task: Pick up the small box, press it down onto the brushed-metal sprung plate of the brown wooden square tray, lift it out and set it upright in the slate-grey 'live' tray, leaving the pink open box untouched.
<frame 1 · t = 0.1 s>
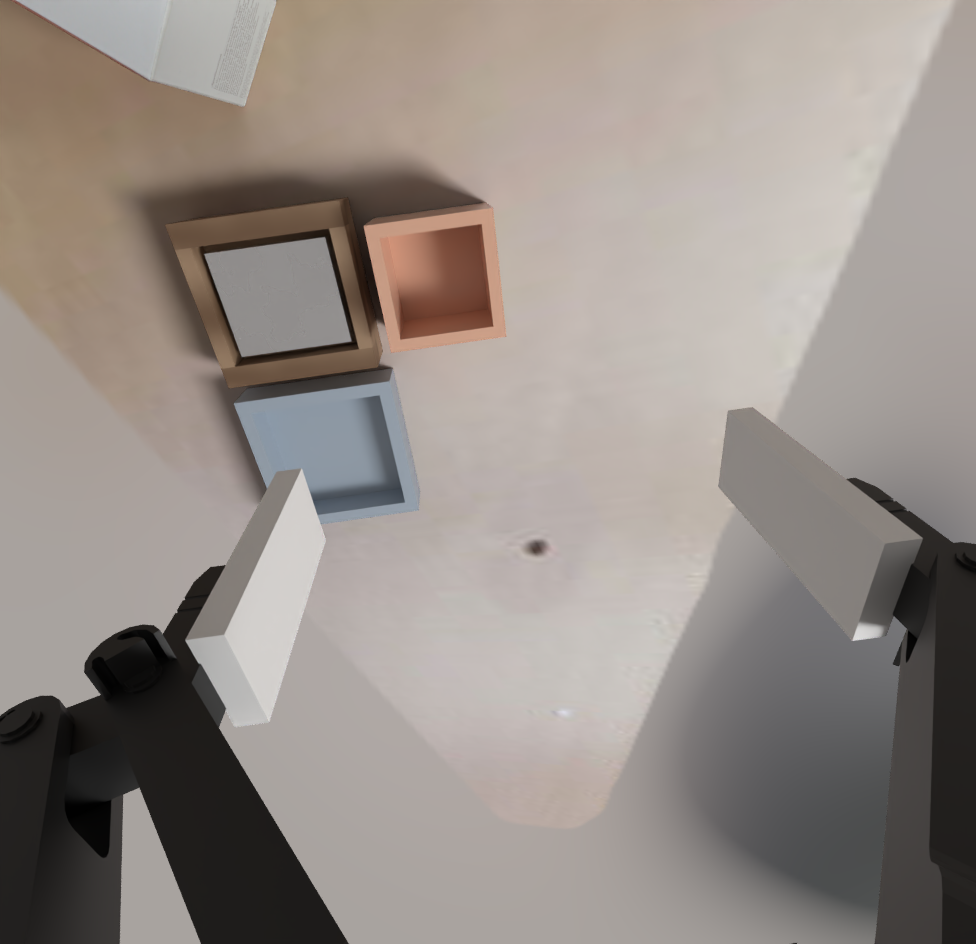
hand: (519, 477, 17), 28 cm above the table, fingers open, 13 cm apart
brown wooden square tray: (293, 289, 40), on the table
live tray: (339, 443, 46), on the table
small box: (196, 16, 32), on the table
pink open box: (439, 269, 40), on the table
sprung plate: (283, 298, 37), point 3 cm above the table, slide at 1.2 cm
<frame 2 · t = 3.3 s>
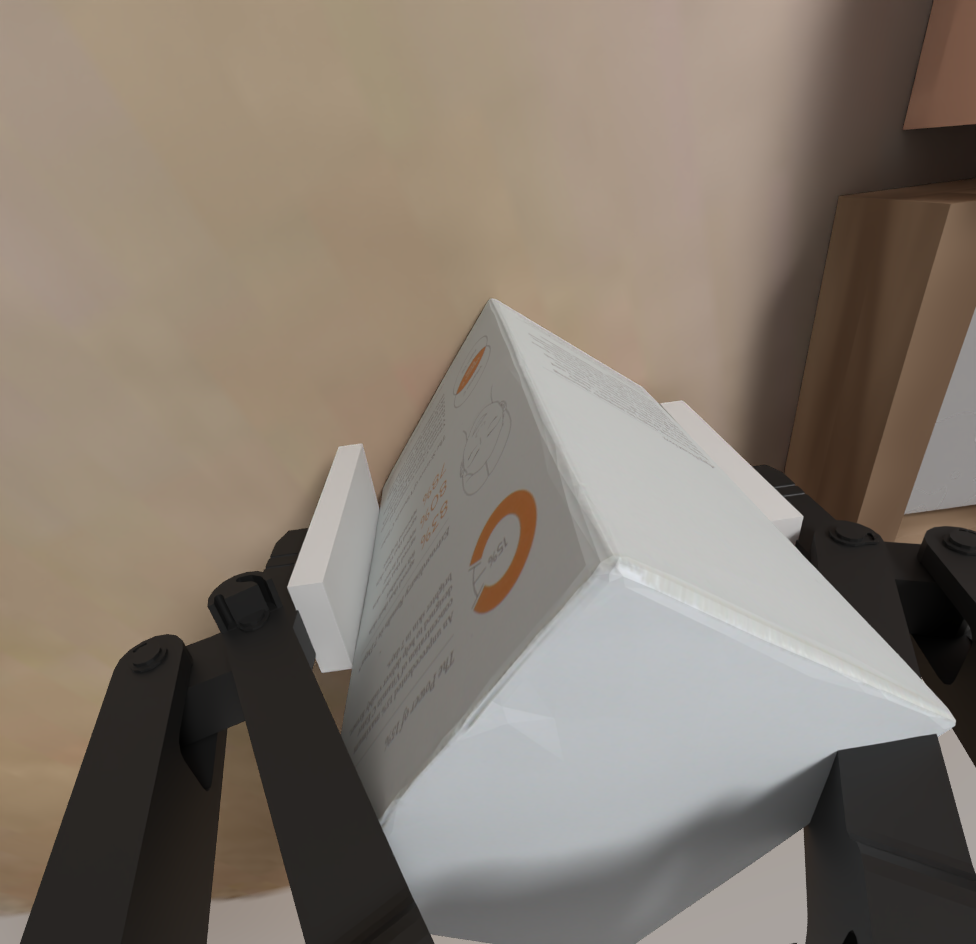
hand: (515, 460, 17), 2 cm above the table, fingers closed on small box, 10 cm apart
brown wooden square tray: (958, 351, 19), on the table
small box: (509, 435, 19), on the table, touching gripper
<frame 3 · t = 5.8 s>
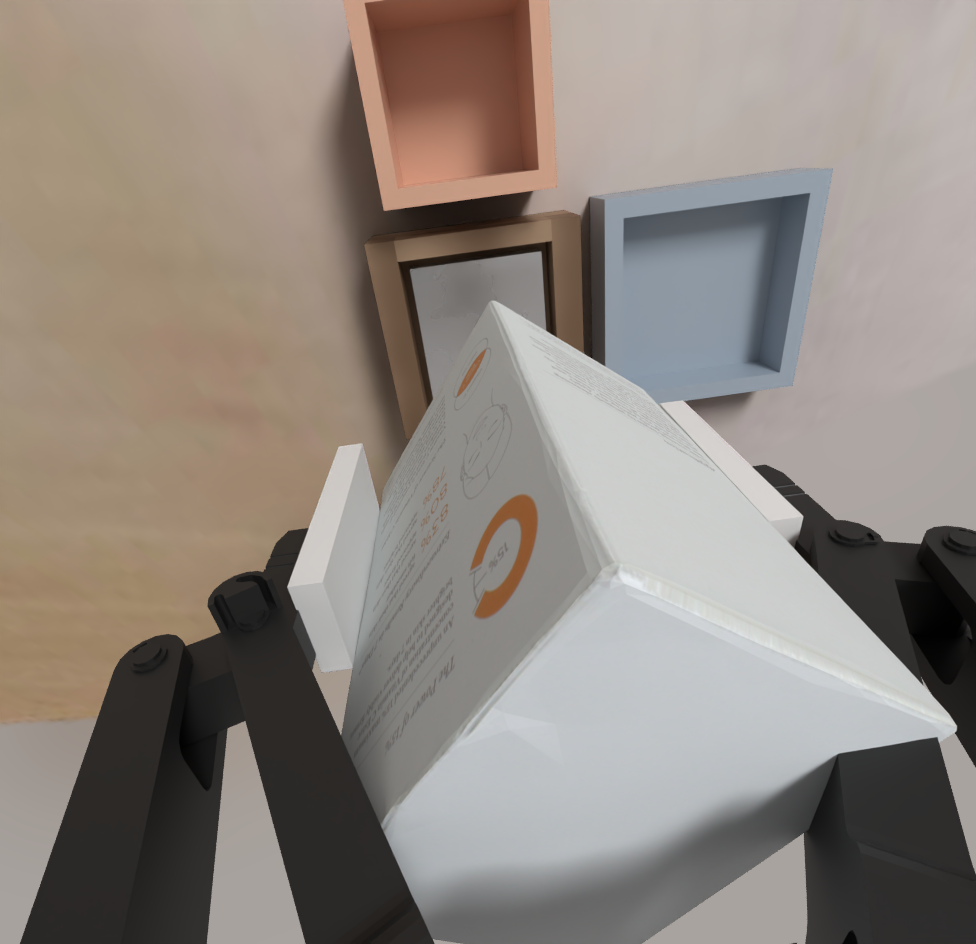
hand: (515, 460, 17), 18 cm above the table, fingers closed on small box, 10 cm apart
brown wooden square tray: (480, 319, 33), on the table
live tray: (686, 291, 33), on the table
small box: (509, 437, 19), point 16 cm above the table, touching gripper
pink open box: (454, 106, 27), on the table
sprung plate: (483, 332, 30), point 3 cm above the table, slide at 1.2 cm
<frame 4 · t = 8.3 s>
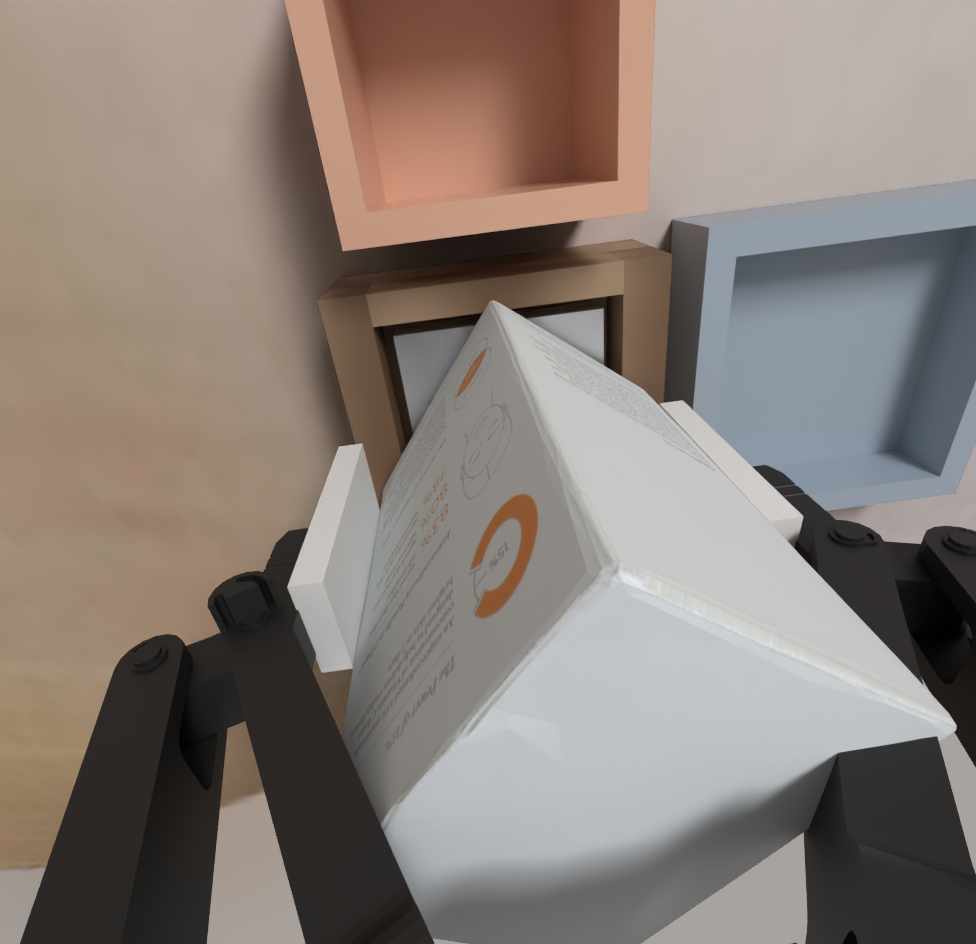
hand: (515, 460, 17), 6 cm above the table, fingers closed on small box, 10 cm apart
brown wooden square tray: (500, 395, 22), on the table
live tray: (802, 355, 23), on the table
small box: (509, 437, 19), point 4 cm above the table, touching gripper
pink open box: (466, 76, 17), on the table
sprung plate: (507, 424, 20), point 3 cm above the table, slide at 1.2 cm
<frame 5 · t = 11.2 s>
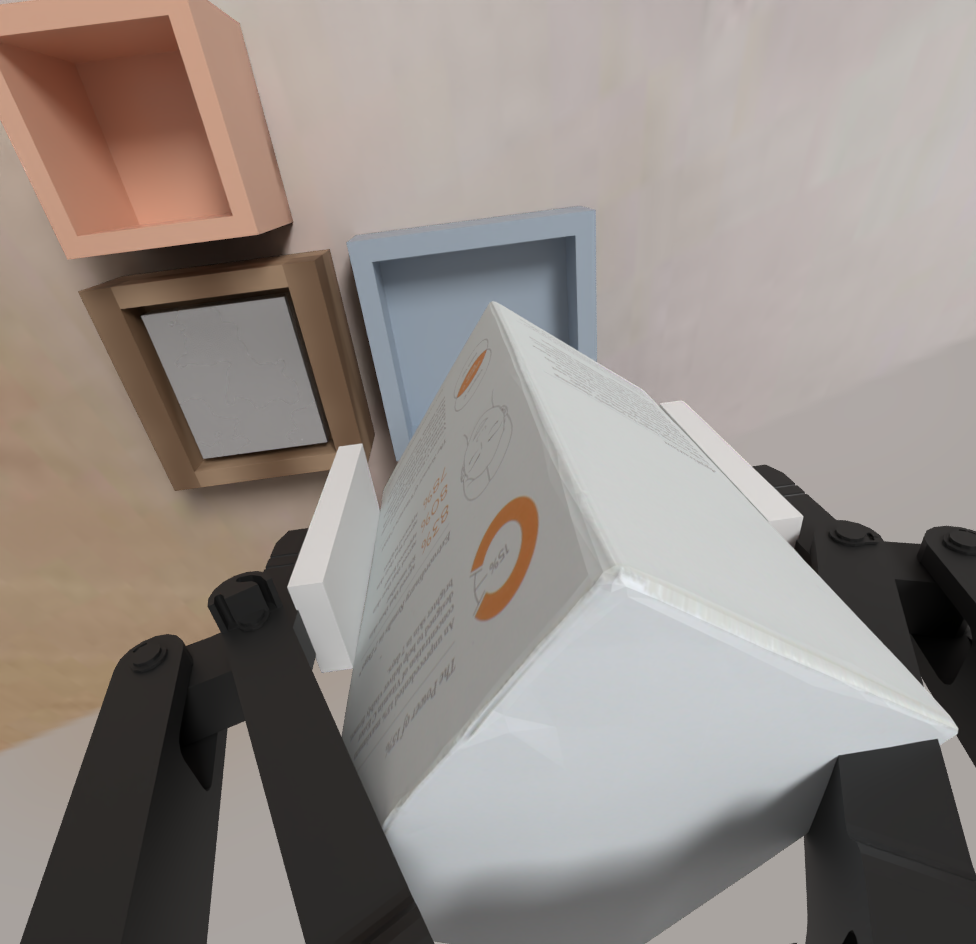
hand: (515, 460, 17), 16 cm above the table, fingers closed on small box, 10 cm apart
brown wooden square tray: (260, 362, 31), on the table
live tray: (481, 333, 31), on the table
small box: (509, 438, 19), point 14 cm above the table, touching gripper
pink open box: (185, 141, 25), on the table
sprung plate: (244, 379, 28), point 3 cm above the table, slide at 1.2 cm
when the fingers open (4 cm above the table, at t = 13.6 s): small box moves 1 cm, resting on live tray.
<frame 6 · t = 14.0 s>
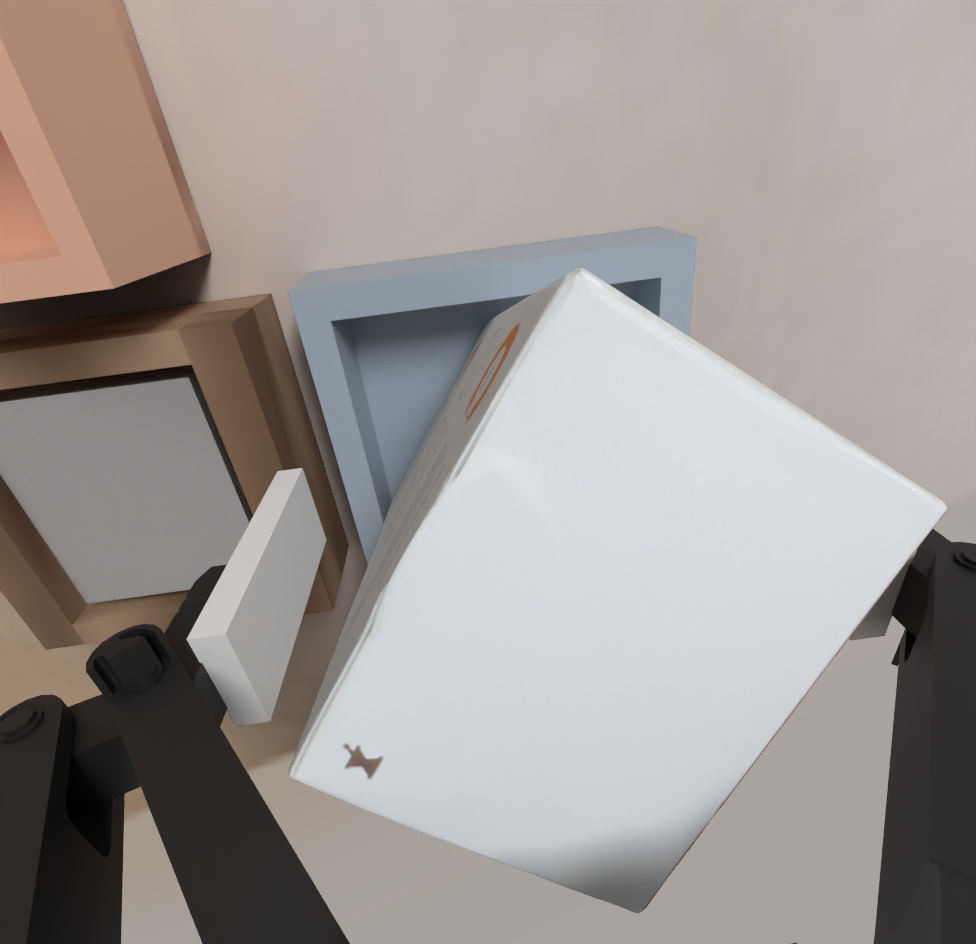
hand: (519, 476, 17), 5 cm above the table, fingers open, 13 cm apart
brown wooden square tray: (176, 454, 21), on the table
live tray: (502, 410, 21), on the table
small box: (511, 453, 20), point 2 cm above the table, touching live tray
pink open box: (22, 124, 15), on the table
sprung plate: (140, 493, 18), point 3 cm above the table, slide at 1.2 cm
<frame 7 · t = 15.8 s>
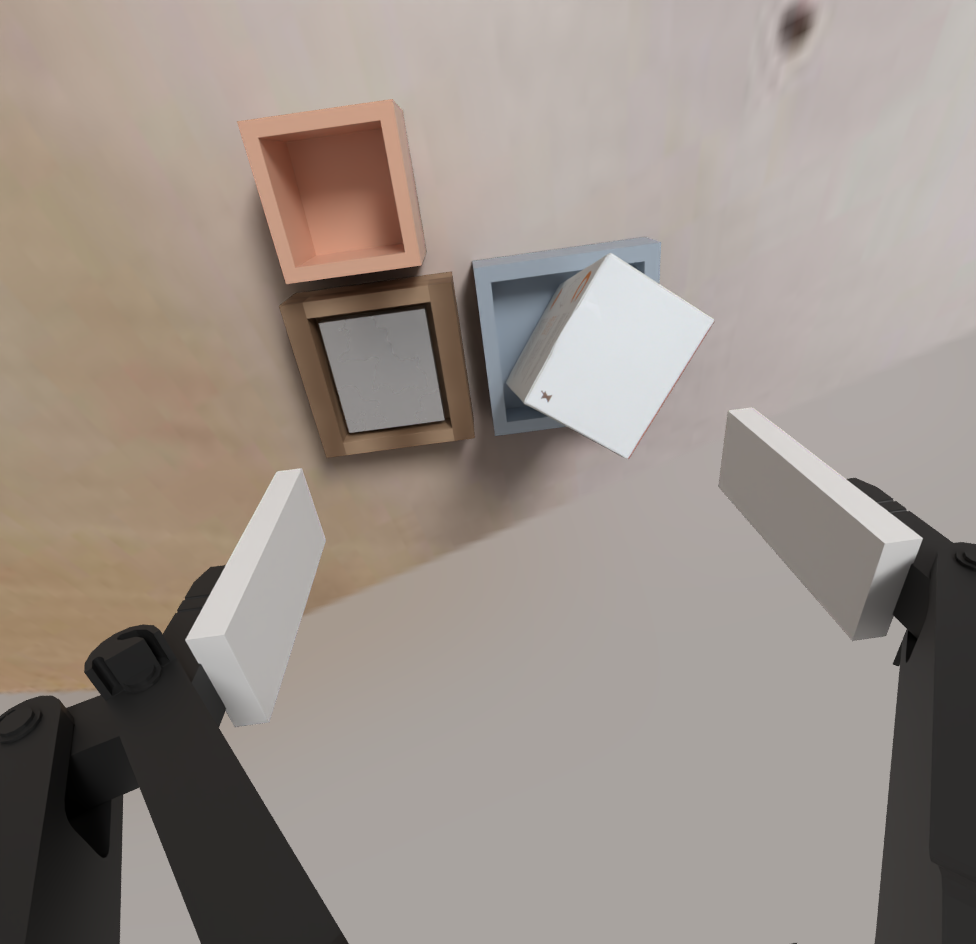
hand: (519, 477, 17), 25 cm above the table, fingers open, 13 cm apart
brown wooden square tray: (390, 358, 40), on the table
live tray: (563, 335, 39), on the table
small box: (569, 355, 38), point 2 cm above the table, touching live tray
pink open box: (353, 193, 34), on the table
sprung plate: (385, 371, 37), point 3 cm above the table, slide at 1.2 cm
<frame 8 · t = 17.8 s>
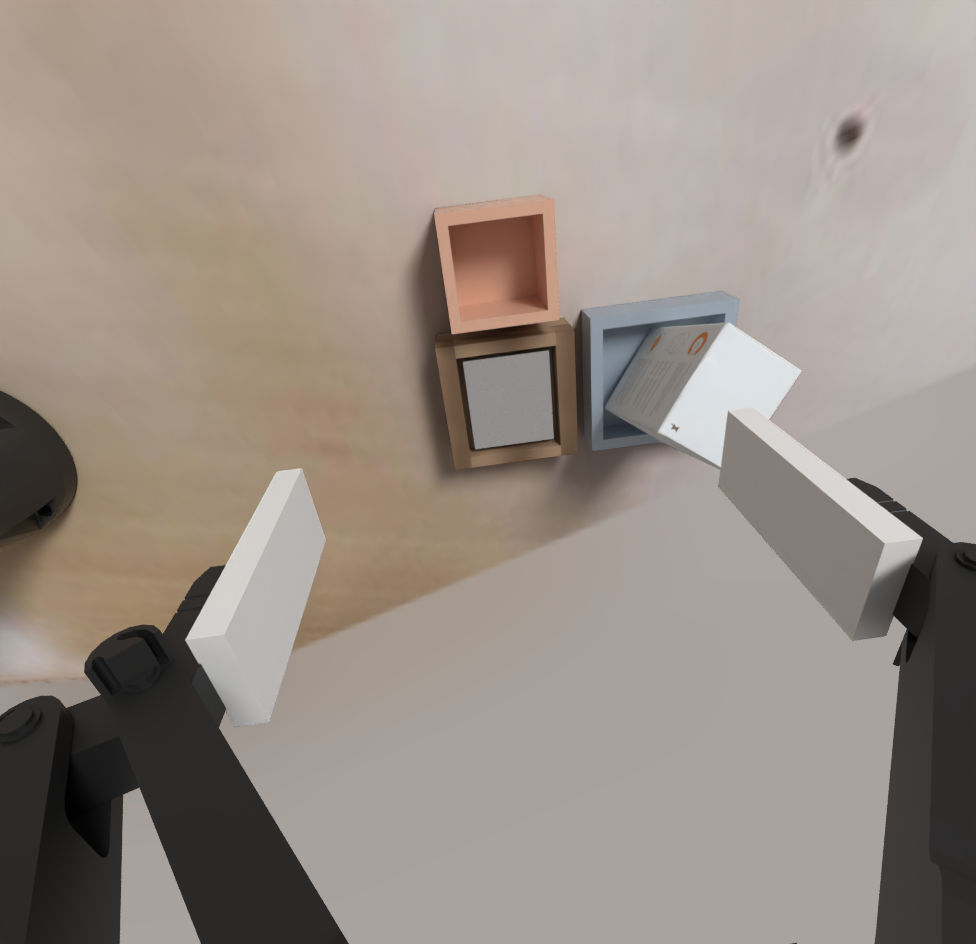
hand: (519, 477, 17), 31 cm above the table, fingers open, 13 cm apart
brown wooden square tray: (506, 387, 48), on the table
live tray: (648, 368, 48), on the table
small box: (655, 385, 47), point 2 cm above the table, touching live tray
pink open box: (493, 257, 42), on the table
sprung plate: (509, 399, 45), point 3 cm above the table, slide at 1.2 cm
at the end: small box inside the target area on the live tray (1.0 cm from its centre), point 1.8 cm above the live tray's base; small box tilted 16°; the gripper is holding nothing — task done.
